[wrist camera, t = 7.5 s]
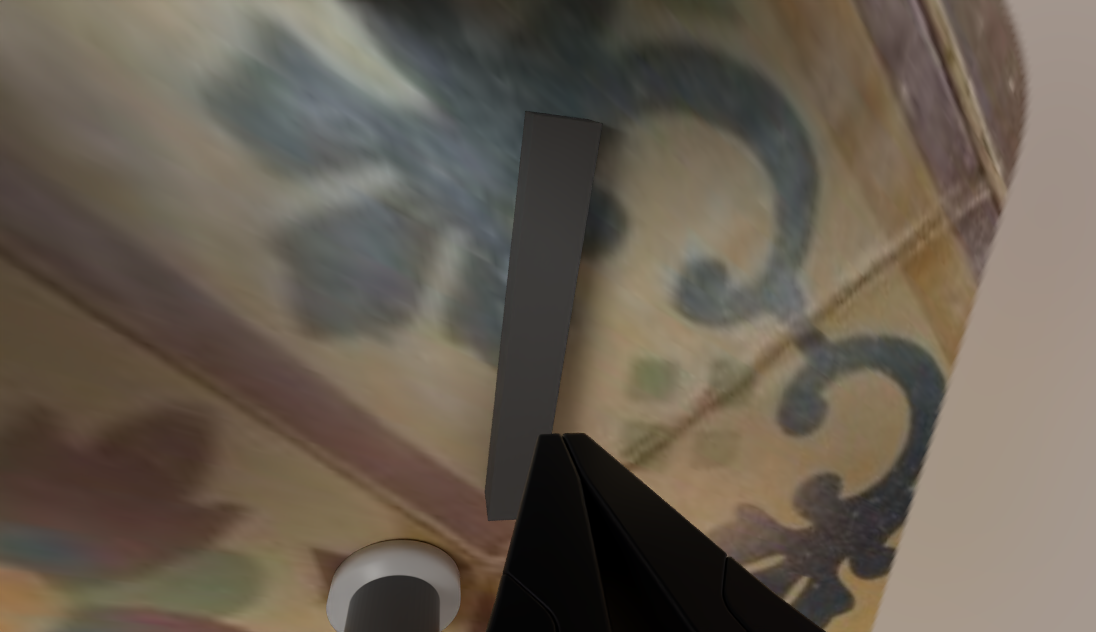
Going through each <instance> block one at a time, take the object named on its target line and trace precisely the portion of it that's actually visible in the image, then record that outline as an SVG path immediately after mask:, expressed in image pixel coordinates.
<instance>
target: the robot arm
mask: <svg viewBox="0 0 1096 632" xmlns="http://www.w3.org/2000/svg"><path fill="white" fill-rule="evenodd" d="M486 632H826V631H824V630H823V629H822V628H820V627H819V626H817V625H816V624H815V623H813V622H812V621H811V620H809V619H808V618H807V617H805V616H804V615H803V614H801V613H800V612H799V611H797V610H796V609H795V608H793V607H792V606H791V605H789V604H788V603H787V602H785V601H784V600H783V599H781V598H780V597H779V596H778V595H776V594H775V593H774V592H773V591H772V590H770V589H769V588H768V587H767V586H765V585H764V584H763V583H762V582H760V581H759V580H758V579H757V578H756V577H754V576H753V575H752V574H751V573H749V572H748V571H747V570H746V569H745V568H743V567H742V566H741V565H740V564H739V563H738V562H736V561H735V560H734V559H733V558H732V557H727V554H726V553H725V552H724V551H723V550H722V549H721V548H720V547H718V546H717V545H716V544H715V543H714V542H713V541H711V540H710V539H709V538H708V537H707V536H706V535H704V534H703V533H702V532H701V531H700V530H698V529H697V528H696V527H695V526H694V525H693V524H691V523H690V522H689V521H688V520H687V519H686V518H684V517H683V516H682V515H681V514H680V513H678V512H677V511H676V510H675V509H674V508H673V507H671V506H670V505H669V504H668V503H667V502H665V501H664V500H663V499H662V498H661V497H660V496H658V495H657V494H656V493H655V492H654V491H653V490H651V489H650V488H649V487H648V486H647V485H645V484H644V483H643V482H642V481H641V480H640V479H638V478H637V477H636V476H635V475H634V474H632V473H631V472H630V471H629V470H628V469H627V468H625V467H624V466H623V465H622V464H621V463H620V462H618V461H617V460H616V459H615V458H614V457H612V456H611V455H610V454H609V453H608V452H607V451H605V450H604V449H603V448H602V447H601V446H600V445H598V444H597V443H596V442H595V441H594V440H592V439H591V438H590V437H589V436H588V435H586V434H585V433H565V434H563V435H562V436H561V435H560V434H540V435H539V436H538V438H537V441H536V445H535V449H534V453H533V457H532V461H531V465H530V468H529V472H528V476H527V480H526V484H525V488H524V492H523V496H522V500H521V503H520V507H519V511H518V515H517V519H516V523H515V527H514V531H513V535H512V538H511V542H510V546H509V550H508V554H507V558H506V562H505V566H504V569H503V575H502V577H501V580H500V584H499V588H498V592H497V596H496V599H495V603H494V606H493V609H492V613H491V616H490V619H489V623H488V626H487V629H486Z"/></svg>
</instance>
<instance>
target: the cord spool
mask: <svg viewBox="0 0 1096 632" xmlns="http://www.w3.org/2000/svg"><path fill="white" fill-rule="evenodd" d="M460 601H461V592H460V573H459V569H458V567H457V565H456V563H455V562H454V560H453V559H452V558H451V557H450V556H449V555H448V554H447V553H445V552H444V551H442V550H441V549H439V548H437V547H435V546H432V545H430V544H427V543H423V542H419V541H412V540H392V541H385V542H380V543H376V544H373V545H370V546H367V547H365V548H362V549H360V550H358V551H357V552H355V553H353V554H352V555H350V556H349V557H348V558H347V559H346V560H344V561H343V562H342V563H341V565H340V566H339V567H338V568H337V570H336V572H335V574H334V576H333V579H332V583H331V587H330V592H329V596H328V600H327V606H326V610H327V616H328V619H329V621H330V623H331V625H332V626H333V628H334V629H335V630H336V631H337V632H441V631H442V630H443V629H445V628H446V627H447V626H448V625H449V624H450V623H451V622H452V621H453V619H454V618H455V616H456V614H457V612H458V610H459V607H460Z"/></svg>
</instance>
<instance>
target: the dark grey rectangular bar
mask: <svg viewBox="0 0 1096 632" xmlns="http://www.w3.org/2000/svg"><path fill="white" fill-rule="evenodd" d="M601 131H602V123H599V122H595V121H592V120H589V119H582V118H574V117H567V116H559V115H552V114H545V113H537V112H530V111H525V120H524V129H523V139H522V148H521V158H520V167H519V176H518V186H517V195H516V204H515V214H514V223H513V232H512V242H511V251H510V260H509V270H508V279H507V288H506V298H505V307H504V317H503V326H502V335H501V345H500V354H499V363H498V373H497V382H496V391H495V401H494V410H493V419H492V429H491V438H490V447H489V457H488V466H487V475H486V485H485V499H486V507H487V516H488V521H495V520H515V519H517V515H518V511H519V507H520V503H521V500H522V496H523V492H524V488H525V484H526V480H527V476H528V472H529V468H530V465H531V461H532V457H533V453H534V449H535V445H536V441H537V438H538V436H539V435H540V434H552V429H553V423H554V417H555V411H556V405H557V399H558V393H559V387H560V380H561V374H562V368H563V362H564V356H565V350H566V344H567V338H568V332H569V326H570V320H571V313H572V307H573V301H574V295H575V289H576V283H577V277H578V271H579V265H580V259H581V252H582V246H583V240H584V234H585V228H586V222H587V216H588V210H589V204H590V198H591V192H592V185H593V179H594V173H595V167H596V161H597V155H598V149H599V143H600V137H601Z"/></svg>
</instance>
